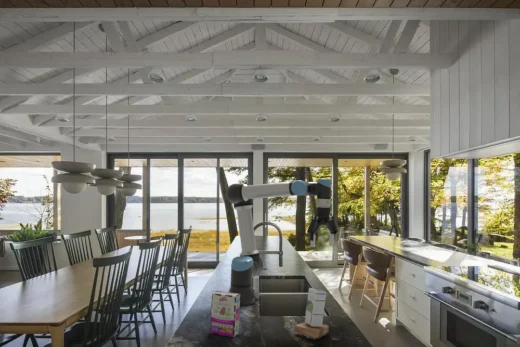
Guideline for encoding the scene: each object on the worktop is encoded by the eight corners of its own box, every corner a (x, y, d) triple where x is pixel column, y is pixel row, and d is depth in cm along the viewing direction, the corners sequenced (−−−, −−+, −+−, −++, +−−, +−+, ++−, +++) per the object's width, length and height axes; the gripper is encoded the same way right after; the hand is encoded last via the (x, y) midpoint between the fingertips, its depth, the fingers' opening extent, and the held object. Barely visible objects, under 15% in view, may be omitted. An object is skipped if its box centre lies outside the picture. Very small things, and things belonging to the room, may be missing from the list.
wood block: (308, 329, 160) (309, 320, 161) (328, 335, 154) (328, 326, 154) (295, 335, 153) (295, 325, 153) (315, 342, 146) (315, 332, 146)
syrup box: (322, 327, 152) (327, 292, 154) (310, 326, 150) (315, 290, 152) (315, 322, 158) (320, 288, 159) (303, 321, 156) (308, 287, 157)
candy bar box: (239, 334, 150) (241, 293, 151) (234, 338, 146) (236, 296, 147) (215, 329, 154) (217, 290, 155) (209, 333, 150) (211, 292, 151)
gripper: (310, 206, 188) (309, 248, 187) (344, 207, 202) (343, 246, 200) (301, 206, 194) (299, 246, 193) (335, 207, 208) (334, 244, 207)
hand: (322, 246), depth 197 cm, fingers open, 13 cm apart
